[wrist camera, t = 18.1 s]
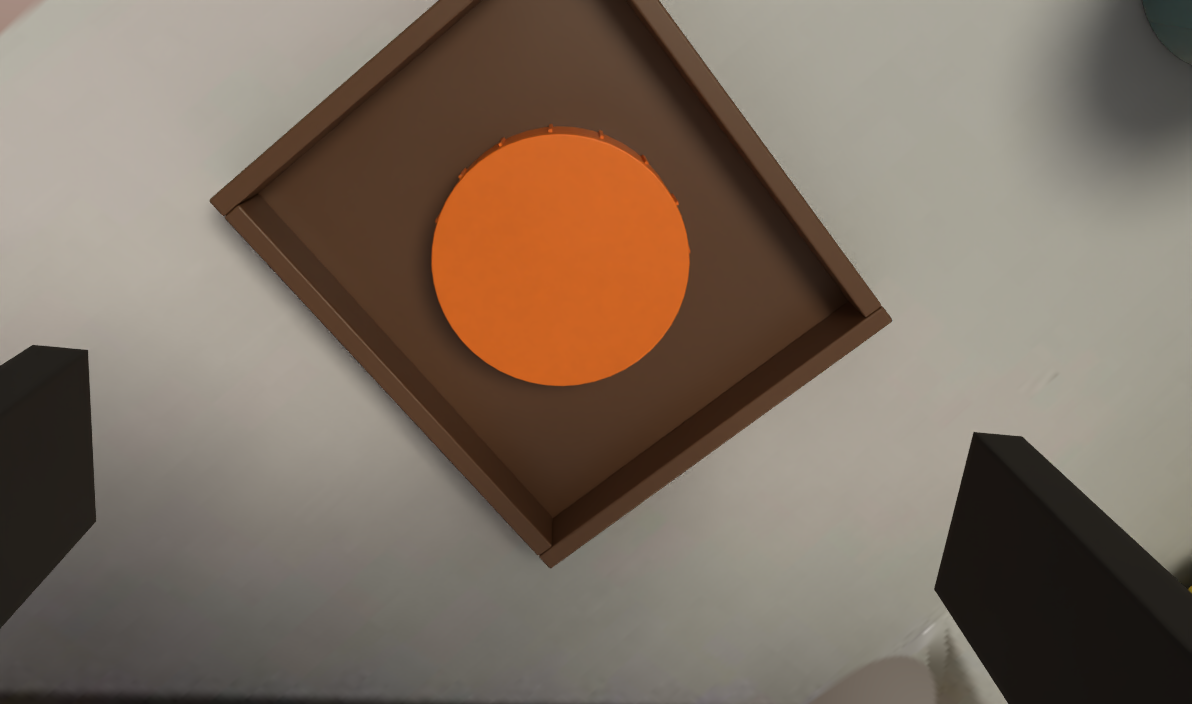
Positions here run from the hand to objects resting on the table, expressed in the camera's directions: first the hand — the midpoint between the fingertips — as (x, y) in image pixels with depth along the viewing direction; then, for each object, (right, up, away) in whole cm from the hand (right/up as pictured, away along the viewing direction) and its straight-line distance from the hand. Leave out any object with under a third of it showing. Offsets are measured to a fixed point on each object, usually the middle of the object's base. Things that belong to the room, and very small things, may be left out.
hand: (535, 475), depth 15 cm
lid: (0, +4, +14) cm, 15 cm away
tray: (0, +5, +17) cm, 17 cm away
